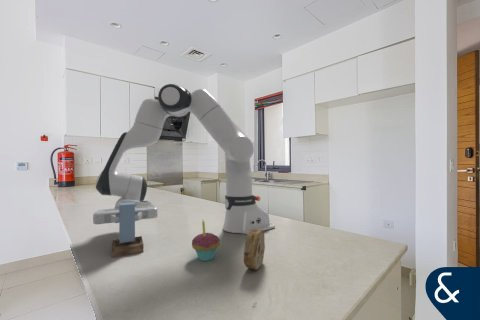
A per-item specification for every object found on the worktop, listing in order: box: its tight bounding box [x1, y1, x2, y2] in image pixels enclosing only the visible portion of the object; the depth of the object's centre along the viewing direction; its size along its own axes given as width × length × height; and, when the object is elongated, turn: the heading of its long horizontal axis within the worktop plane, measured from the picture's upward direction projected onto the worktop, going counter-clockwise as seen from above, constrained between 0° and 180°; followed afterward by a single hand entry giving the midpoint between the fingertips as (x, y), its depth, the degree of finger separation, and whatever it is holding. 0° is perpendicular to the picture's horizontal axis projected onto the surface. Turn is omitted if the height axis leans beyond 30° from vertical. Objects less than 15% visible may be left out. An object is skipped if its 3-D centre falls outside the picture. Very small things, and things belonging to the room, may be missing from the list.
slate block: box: [118, 202, 136, 243], centre depth 77 cm, size 4×4×12 cm
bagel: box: [243, 229, 266, 271], centre depth 64 cm, size 10×4×10 cm, turn 157°
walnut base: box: [110, 235, 144, 258], centre depth 77 cm, size 9×9×2 cm
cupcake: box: [191, 220, 221, 262], centre depth 70 cm, size 9×8×12 cm
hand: (127, 219), depth 76 cm, fingers closed on slate block, 4 cm apart
